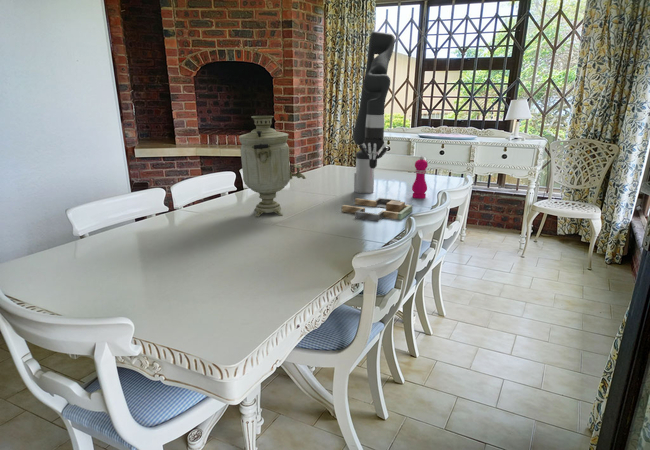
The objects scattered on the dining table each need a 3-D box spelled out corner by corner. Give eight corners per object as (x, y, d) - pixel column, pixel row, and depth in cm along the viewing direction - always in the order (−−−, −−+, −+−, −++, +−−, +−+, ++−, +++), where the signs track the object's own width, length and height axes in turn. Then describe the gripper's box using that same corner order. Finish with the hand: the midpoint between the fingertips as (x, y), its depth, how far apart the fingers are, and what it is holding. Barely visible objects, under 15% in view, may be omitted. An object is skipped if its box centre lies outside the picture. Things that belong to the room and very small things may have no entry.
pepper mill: (409, 197, 205) (412, 156, 199) (413, 194, 211) (416, 154, 205) (424, 199, 202) (427, 157, 196) (428, 196, 208) (431, 155, 202)
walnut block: (385, 214, 178) (386, 203, 176) (390, 211, 183) (391, 200, 181) (399, 217, 175) (399, 205, 173) (404, 213, 180) (404, 202, 178)
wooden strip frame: (335, 214, 177) (335, 209, 177) (361, 200, 200) (361, 195, 199) (396, 223, 165) (396, 217, 165) (416, 207, 188) (416, 202, 187)
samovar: (294, 225, 163) (292, 119, 151) (230, 221, 168) (223, 118, 156) (312, 205, 191) (311, 114, 179) (257, 202, 196) (252, 113, 184)
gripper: (356, 125, 172) (354, 168, 178) (386, 127, 166) (384, 171, 172) (363, 124, 179) (362, 165, 184) (393, 126, 173) (390, 168, 178)
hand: (372, 168), depth 178 cm, fingers closed
